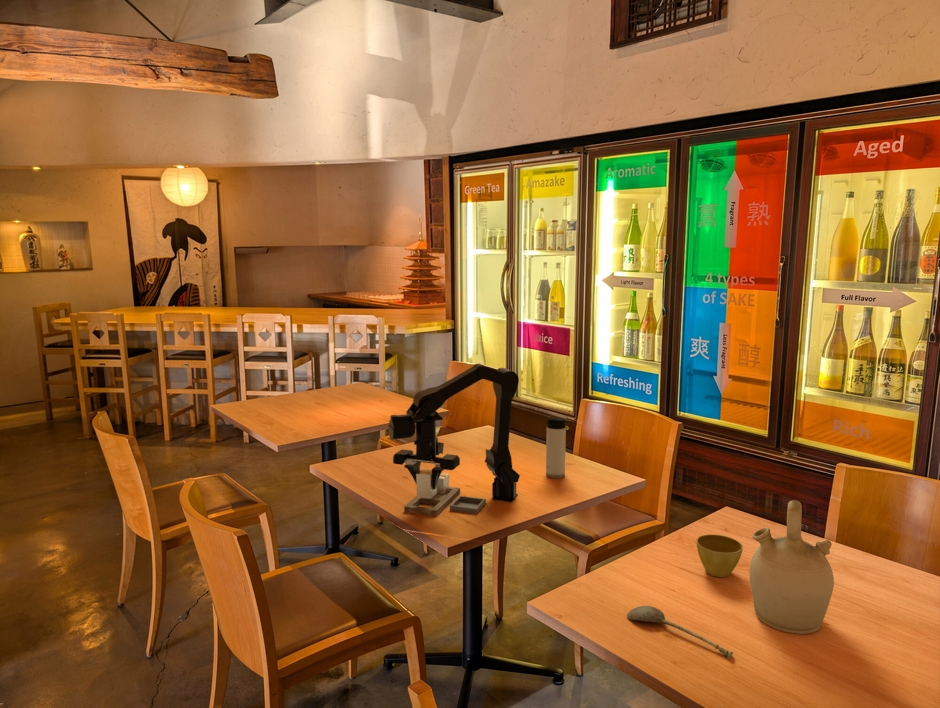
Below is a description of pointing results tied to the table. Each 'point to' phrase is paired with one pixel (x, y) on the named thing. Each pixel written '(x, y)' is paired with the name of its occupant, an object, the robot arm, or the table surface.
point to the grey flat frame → (437, 500)
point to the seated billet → (443, 484)
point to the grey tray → (468, 504)
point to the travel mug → (555, 447)
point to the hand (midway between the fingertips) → (426, 488)
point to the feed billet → (425, 484)
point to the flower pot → (719, 554)
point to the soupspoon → (657, 616)
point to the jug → (791, 578)
